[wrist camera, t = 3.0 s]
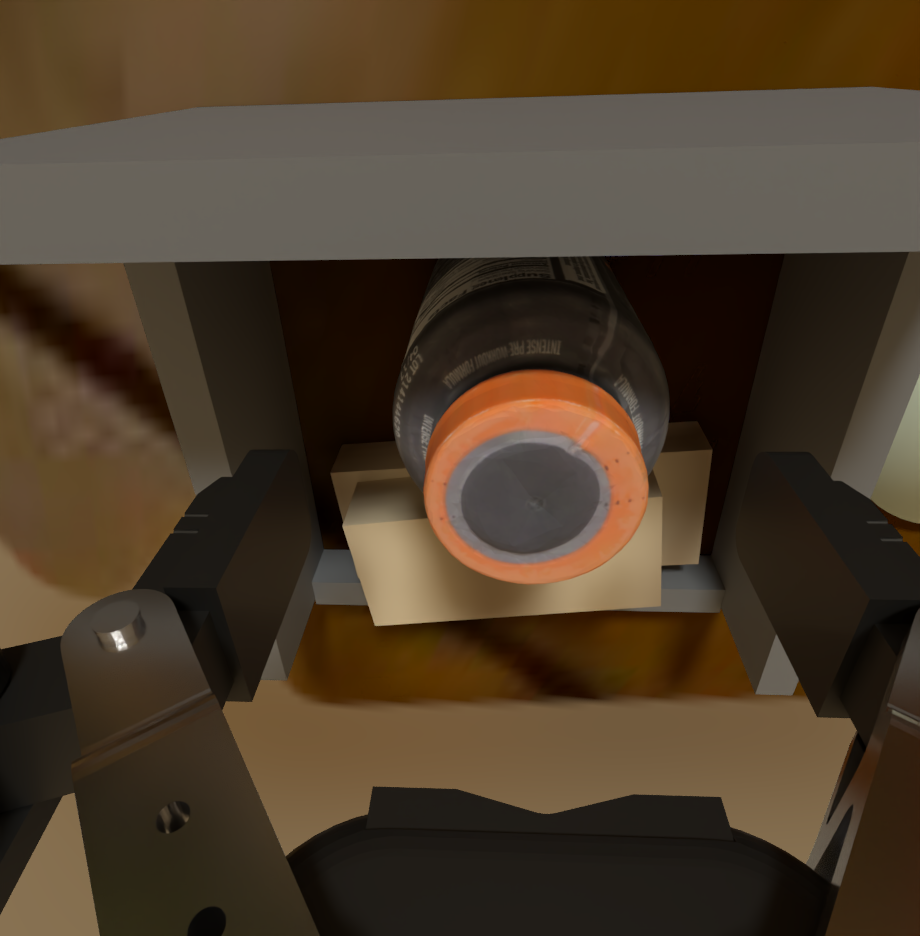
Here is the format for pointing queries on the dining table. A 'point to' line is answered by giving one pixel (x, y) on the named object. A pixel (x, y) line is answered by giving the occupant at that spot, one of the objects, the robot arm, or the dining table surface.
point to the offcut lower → (675, 470)
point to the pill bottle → (530, 414)
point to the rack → (504, 235)
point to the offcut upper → (471, 593)
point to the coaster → (903, 467)
